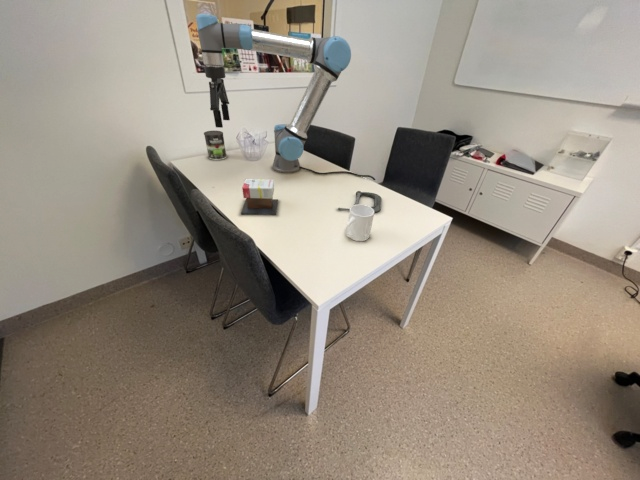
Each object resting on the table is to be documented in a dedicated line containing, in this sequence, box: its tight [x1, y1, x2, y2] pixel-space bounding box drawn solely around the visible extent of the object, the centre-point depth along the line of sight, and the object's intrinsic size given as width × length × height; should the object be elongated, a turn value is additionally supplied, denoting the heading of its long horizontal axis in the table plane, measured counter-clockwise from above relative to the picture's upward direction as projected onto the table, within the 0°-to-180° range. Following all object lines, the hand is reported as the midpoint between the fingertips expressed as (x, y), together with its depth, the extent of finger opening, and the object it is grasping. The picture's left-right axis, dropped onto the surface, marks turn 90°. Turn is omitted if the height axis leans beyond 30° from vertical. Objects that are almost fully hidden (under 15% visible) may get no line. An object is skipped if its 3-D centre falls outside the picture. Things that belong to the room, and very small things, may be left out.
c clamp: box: [337, 190, 382, 214], centre depth 118 cm, size 20×17×3 cm
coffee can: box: [203, 130, 228, 161], centre depth 153 cm, size 10×10×14 cm
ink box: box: [242, 178, 275, 199], centre depth 107 cm, size 9×5×12 cm
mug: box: [345, 203, 375, 242], centre depth 94 cm, size 9×12×11 cm
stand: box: [240, 197, 279, 216], centre depth 109 cm, size 14×12×6 cm
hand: (223, 123), depth 116 cm, fingers open, 13 cm apart
